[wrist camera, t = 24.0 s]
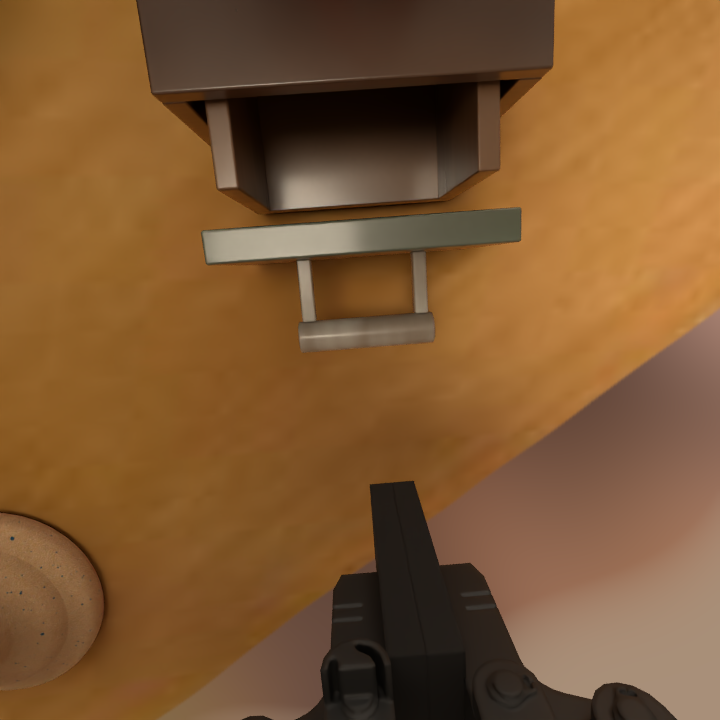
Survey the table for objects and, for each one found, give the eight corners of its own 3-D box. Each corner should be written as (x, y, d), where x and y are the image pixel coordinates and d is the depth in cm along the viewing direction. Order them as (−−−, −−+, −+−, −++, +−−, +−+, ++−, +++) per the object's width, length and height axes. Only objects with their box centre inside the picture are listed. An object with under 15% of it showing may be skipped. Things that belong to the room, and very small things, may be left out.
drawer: (464, 324, 24) (521, 352, 16) (260, 340, 24) (221, 376, 16) (457, -48, 20) (526, -238, 12) (213, -33, 20) (132, -217, 12)
